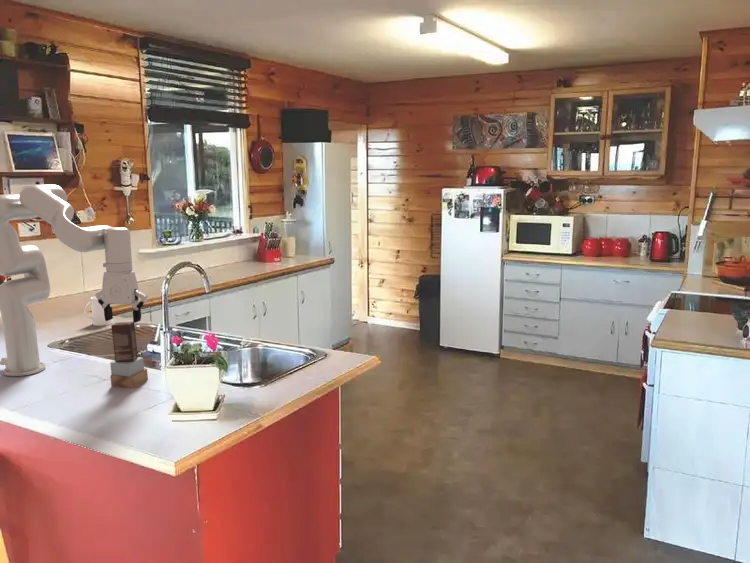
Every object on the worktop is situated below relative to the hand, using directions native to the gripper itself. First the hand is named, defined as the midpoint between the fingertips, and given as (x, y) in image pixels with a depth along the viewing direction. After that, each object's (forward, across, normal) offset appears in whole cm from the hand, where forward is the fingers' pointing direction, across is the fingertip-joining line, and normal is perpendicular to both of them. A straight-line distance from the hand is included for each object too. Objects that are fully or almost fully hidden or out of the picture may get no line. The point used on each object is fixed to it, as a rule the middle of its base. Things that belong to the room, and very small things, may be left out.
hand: (123, 320), depth 199 cm
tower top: (+17, +1, 0) cm, 17 cm away
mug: (+22, -55, +68) cm, 90 cm away
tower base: (+21, +1, 0) cm, 21 cm away
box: (+13, 0, 0) cm, 13 cm away
